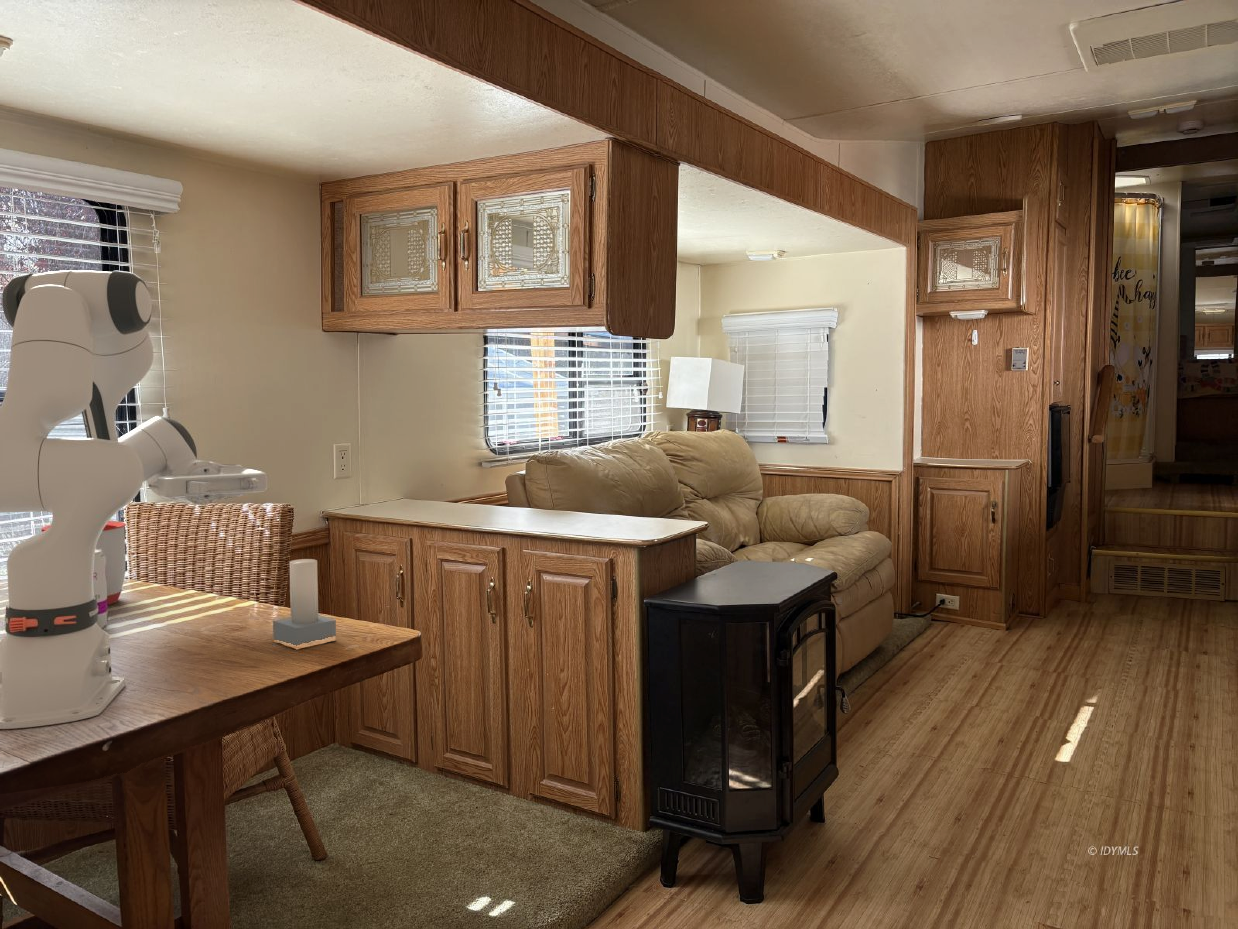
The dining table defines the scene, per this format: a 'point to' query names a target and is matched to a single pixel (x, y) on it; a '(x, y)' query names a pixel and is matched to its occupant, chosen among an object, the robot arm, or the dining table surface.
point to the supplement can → (100, 587)
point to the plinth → (303, 630)
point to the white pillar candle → (303, 591)
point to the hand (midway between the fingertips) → (232, 486)
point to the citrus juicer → (112, 557)
